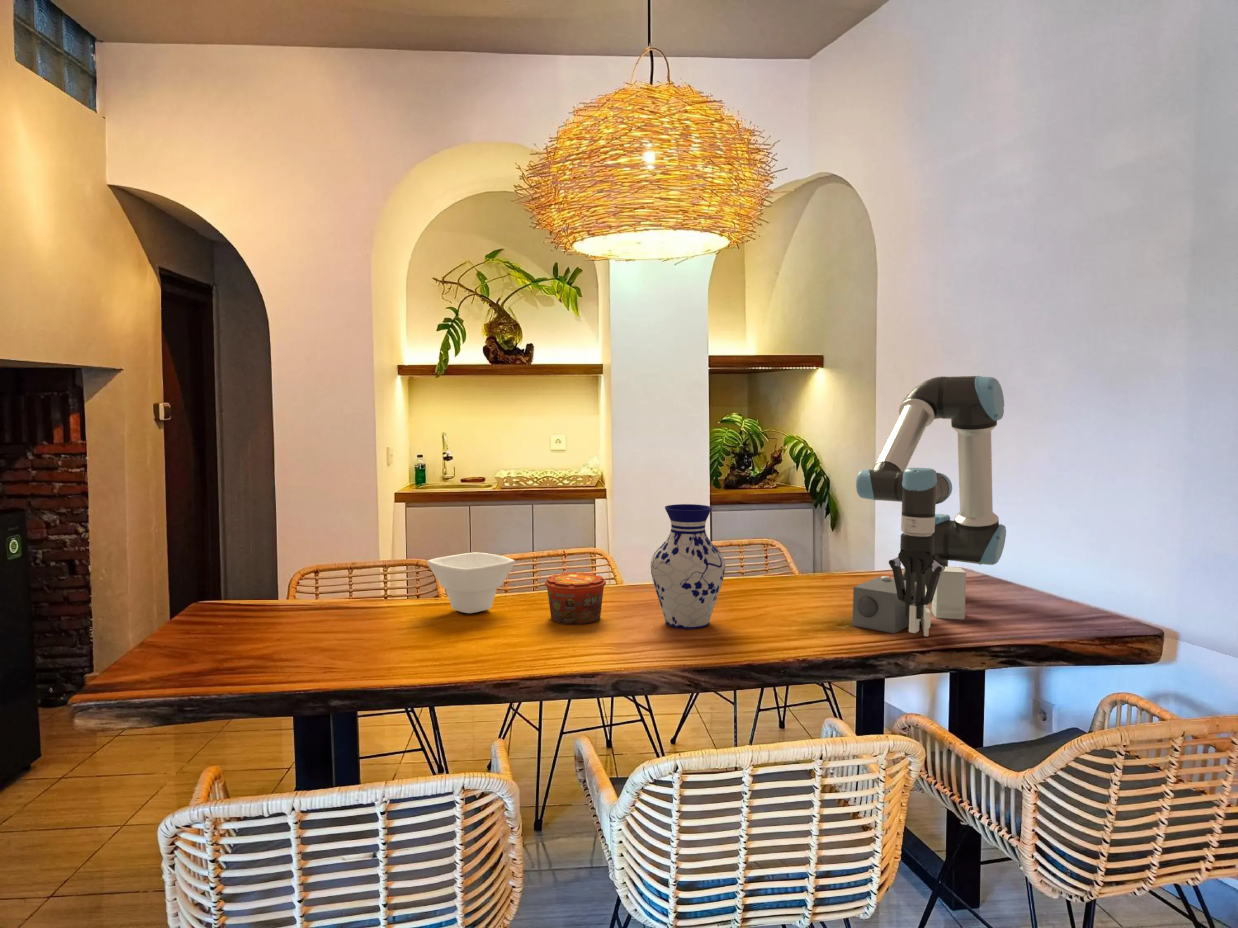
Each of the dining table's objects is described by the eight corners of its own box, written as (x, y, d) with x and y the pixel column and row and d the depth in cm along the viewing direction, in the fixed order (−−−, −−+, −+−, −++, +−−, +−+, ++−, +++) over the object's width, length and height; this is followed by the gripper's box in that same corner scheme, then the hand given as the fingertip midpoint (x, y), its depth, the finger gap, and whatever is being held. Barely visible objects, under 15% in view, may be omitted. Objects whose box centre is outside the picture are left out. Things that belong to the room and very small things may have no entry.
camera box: (878, 613, 231) (879, 573, 230) (918, 620, 224) (920, 579, 223) (851, 626, 218) (852, 584, 217) (893, 634, 211) (894, 590, 210)
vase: (731, 617, 226) (733, 504, 223) (715, 637, 208) (717, 514, 205) (661, 611, 232) (662, 501, 229) (640, 629, 214) (641, 510, 211)
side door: (920, 619, 224) (921, 583, 223) (924, 619, 223) (925, 583, 223) (925, 642, 203) (926, 603, 202) (929, 643, 203) (931, 603, 202)
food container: (534, 623, 220) (534, 581, 219) (560, 608, 235) (560, 569, 234) (592, 629, 214) (592, 587, 213) (614, 613, 229) (614, 574, 228)
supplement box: (965, 619, 224) (967, 572, 223) (935, 618, 226) (937, 570, 225) (959, 612, 232) (961, 566, 231) (931, 611, 233) (932, 565, 232)
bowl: (521, 610, 232) (521, 559, 231) (463, 624, 218) (462, 570, 216) (478, 599, 244) (478, 550, 243) (421, 611, 230) (420, 560, 229)
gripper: (884, 532, 204) (881, 629, 206) (939, 538, 196) (935, 640, 198) (897, 528, 210) (893, 623, 212) (950, 534, 201) (946, 633, 203)
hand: (913, 631), depth 205 cm, fingers closed
